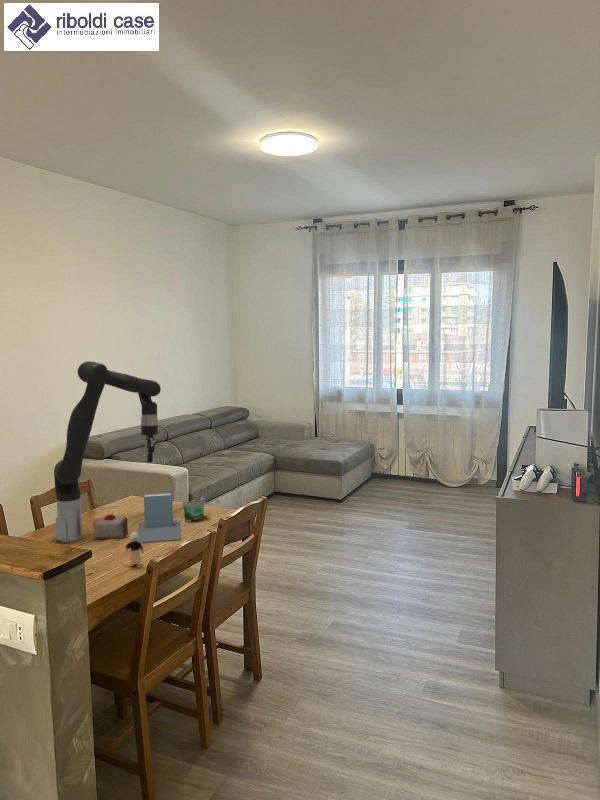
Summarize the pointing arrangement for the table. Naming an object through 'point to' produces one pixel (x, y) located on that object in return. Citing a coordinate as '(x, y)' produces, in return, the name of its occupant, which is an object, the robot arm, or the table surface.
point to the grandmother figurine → (135, 549)
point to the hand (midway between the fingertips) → (149, 462)
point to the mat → (159, 533)
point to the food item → (110, 527)
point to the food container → (194, 510)
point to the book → (158, 510)
